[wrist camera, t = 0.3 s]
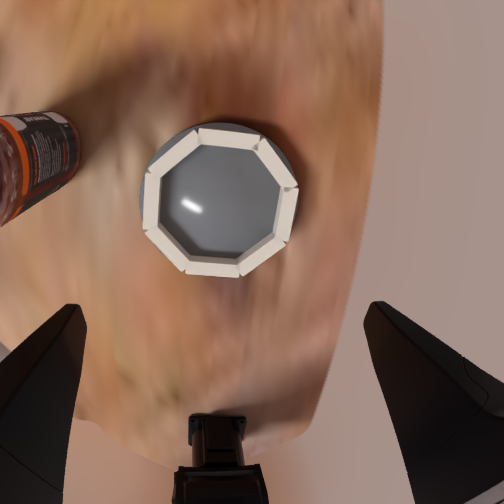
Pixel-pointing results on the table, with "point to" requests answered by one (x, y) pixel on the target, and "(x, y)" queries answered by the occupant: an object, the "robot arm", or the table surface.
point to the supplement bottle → (34, 159)
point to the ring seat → (218, 200)
